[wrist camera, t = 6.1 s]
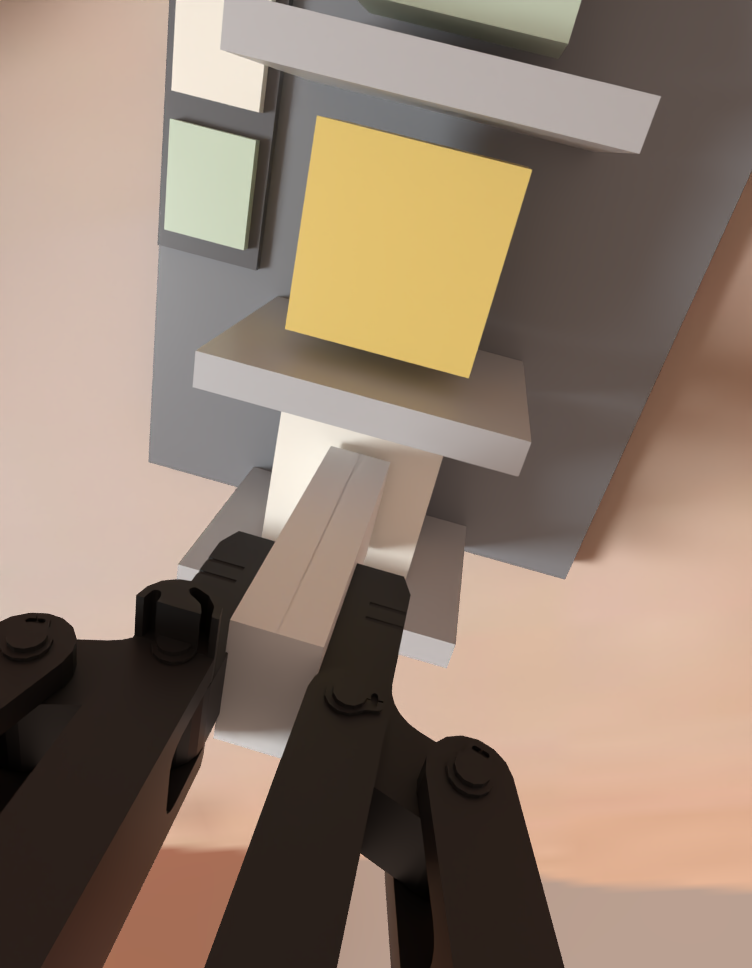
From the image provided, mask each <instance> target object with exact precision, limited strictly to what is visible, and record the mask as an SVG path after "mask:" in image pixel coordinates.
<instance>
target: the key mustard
mask: <svg viewBox="0 0 752 968" xmlns="http://www.w3.org/2000/svg"><path fill="white" fill-rule="evenodd" d="M531 173H532V169H530V168H529V167H527V166H523V165H519V164H515V163H511V162H507V161H503V160H499V159H496V158H492V157H488V156H484V155H480V154H476V153H472V152H468V151H464V150H460V149H456V148H452V147H448V146H444V145H440V144H436V143H432V142H428V141H424V140H420V139H416V138H412V137H408V136H404V135H400V134H396V133H392V132H388V131H384V130H380V129H377V128H373V127H369V126H365V125H361V124H357V123H353V122H349V121H345V120H340V119H334V118H329V117H323V116H317V118H316V125H315V132H314V138H313V145H312V152H311V158H310V165H309V172H308V178H307V185H306V192H305V198H304V205H303V212H302V218H301V225H300V232H299V238H298V245H297V252H296V258H295V265H294V272H293V278H292V285H291V292H290V298H289V305H288V312H287V318H286V325H285V329H287V330H290V331H294V332H298V333H302V334H305V335H309V336H313V337H316V338H320V339H324V340H328V341H331V342H335V343H339V344H342V345H346V346H350V347H354V348H357V349H361V350H365V351H369V352H372V353H376V354H380V355H383V356H387V357H391V358H395V359H398V360H402V361H406V362H409V363H413V364H417V365H421V366H424V367H428V368H432V369H435V370H439V371H443V372H447V373H450V374H454V375H458V376H461V377H465V378H469V376H470V373H471V369H472V366H473V363H474V360H475V356H476V353H477V350H478V346H479V343H480V340H481V337H482V333H483V330H484V327H485V323H486V320H487V317H488V314H489V310H490V307H491V304H492V300H493V297H494V294H495V291H496V287H497V284H498V281H499V278H500V274H501V271H502V268H503V264H504V261H505V258H506V255H507V251H508V248H509V245H510V241H511V238H512V235H513V232H514V228H515V225H516V222H517V218H518V215H519V212H520V209H521V205H522V202H523V199H524V195H525V192H526V189H527V186H528V182H529V179H530V176H531Z"/></svg>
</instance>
